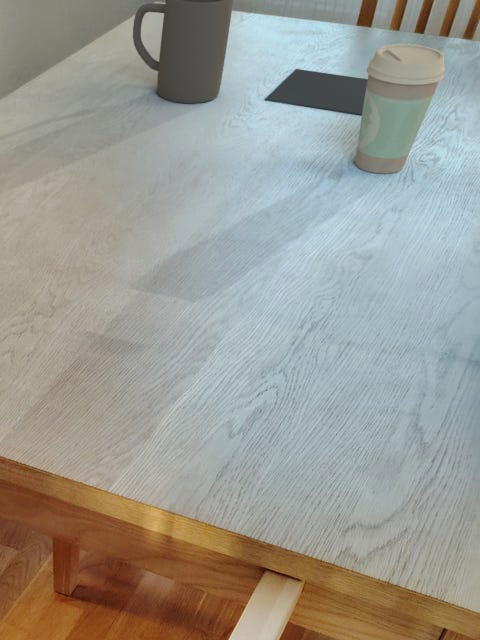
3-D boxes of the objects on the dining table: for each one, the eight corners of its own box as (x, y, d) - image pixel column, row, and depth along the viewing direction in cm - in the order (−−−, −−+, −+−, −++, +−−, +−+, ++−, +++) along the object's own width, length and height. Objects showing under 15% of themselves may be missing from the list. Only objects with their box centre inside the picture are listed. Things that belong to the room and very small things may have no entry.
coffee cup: (352, 147, 115) (380, 38, 106) (421, 158, 112) (456, 48, 103) (335, 170, 110) (363, 58, 101) (406, 183, 107) (442, 69, 98)
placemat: (431, 89, 129) (432, 88, 129) (408, 122, 121) (408, 121, 121) (295, 69, 136) (296, 68, 136) (264, 99, 127) (264, 98, 127)
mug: (227, 87, 131) (242, -12, 122) (208, 107, 126) (223, 5, 117) (139, 76, 135) (147, -21, 126) (117, 95, 130) (125, -5, 121)
